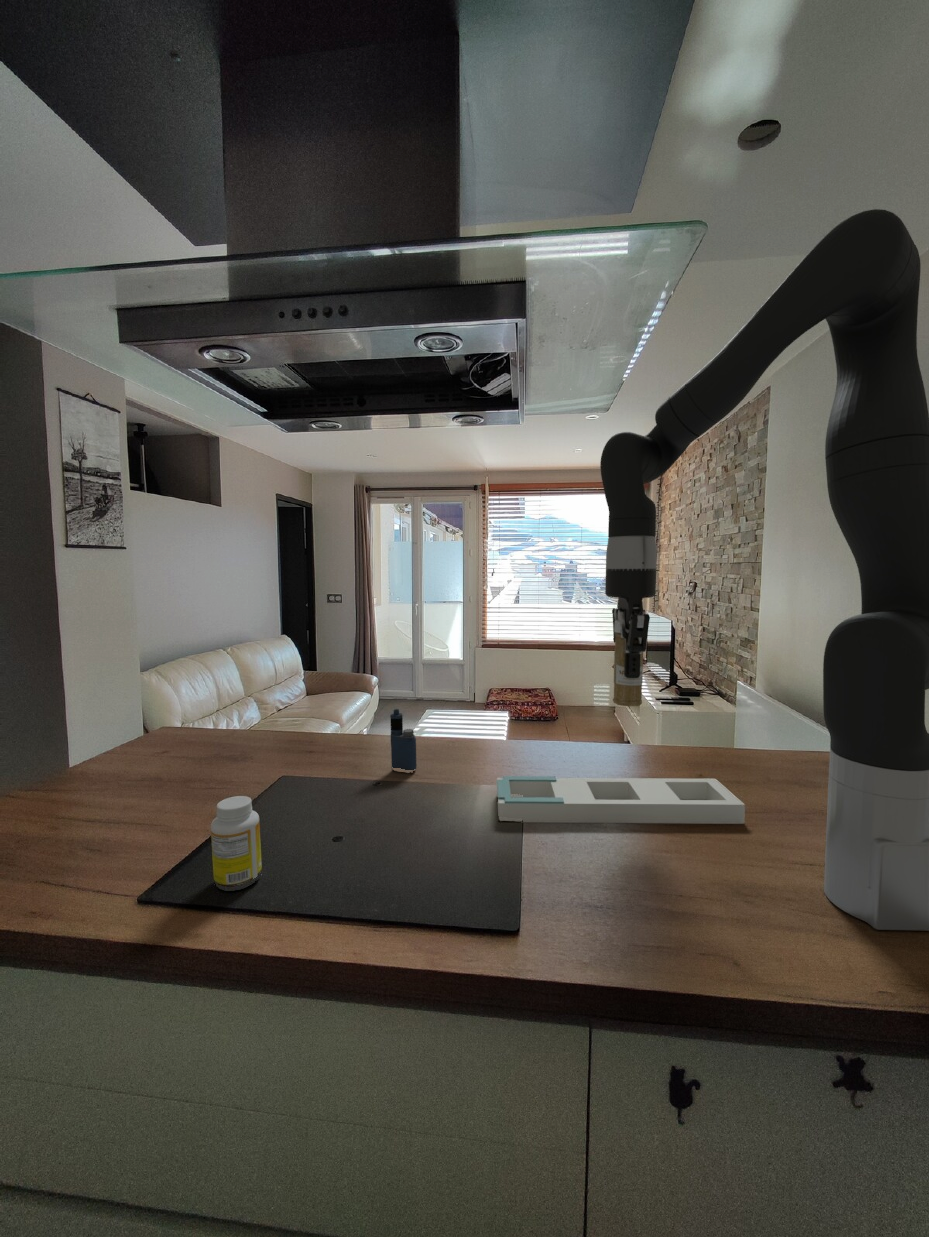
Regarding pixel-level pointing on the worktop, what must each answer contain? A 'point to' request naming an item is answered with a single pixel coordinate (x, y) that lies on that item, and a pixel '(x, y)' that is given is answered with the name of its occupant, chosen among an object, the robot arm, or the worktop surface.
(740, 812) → the rail
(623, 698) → the sprinkles bottle
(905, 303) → the robot arm
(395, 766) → the vaping device
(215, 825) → the supplement bottle
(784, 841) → the worktop surface
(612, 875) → the worktop surface
